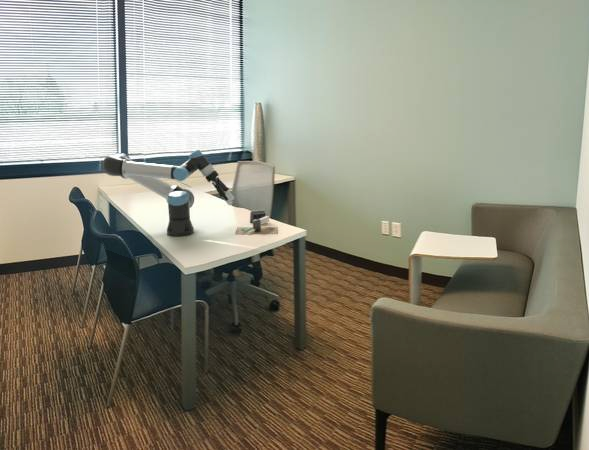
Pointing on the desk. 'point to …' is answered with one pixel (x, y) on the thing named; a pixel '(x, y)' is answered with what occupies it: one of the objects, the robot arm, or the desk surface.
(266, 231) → the board
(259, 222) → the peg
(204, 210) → the desk surface
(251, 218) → the electrical switch
